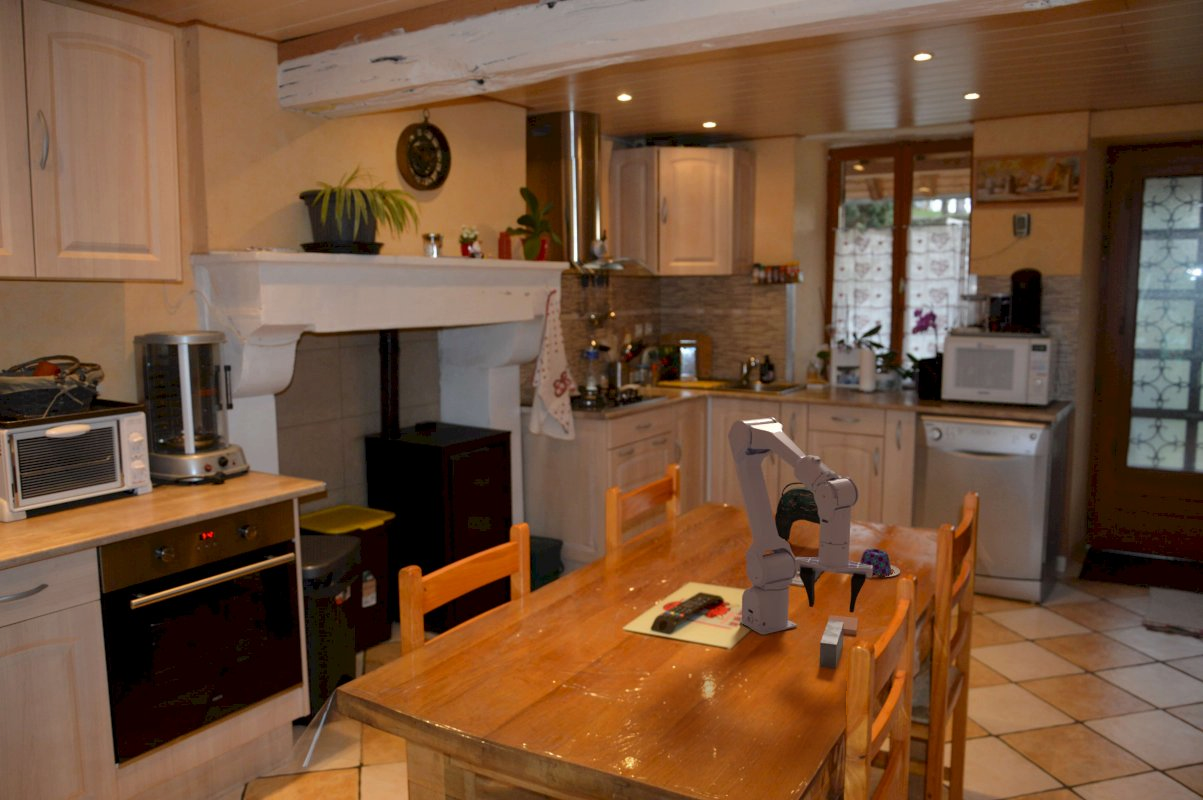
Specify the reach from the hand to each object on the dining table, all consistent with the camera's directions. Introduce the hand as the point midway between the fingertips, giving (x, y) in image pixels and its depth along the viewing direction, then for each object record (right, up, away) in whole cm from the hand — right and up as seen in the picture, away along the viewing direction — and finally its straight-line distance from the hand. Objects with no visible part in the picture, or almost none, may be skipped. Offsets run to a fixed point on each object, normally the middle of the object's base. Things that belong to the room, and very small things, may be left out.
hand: (831, 607), depth 179 cm
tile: (+5, -7, +11) cm, 14 cm away
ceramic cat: (+13, +1, +75) cm, 76 cm away
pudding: (+24, -3, +51) cm, 57 cm away
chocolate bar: (+5, -3, +49) cm, 49 cm away
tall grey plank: (0, -10, 0) cm, 10 cm away
